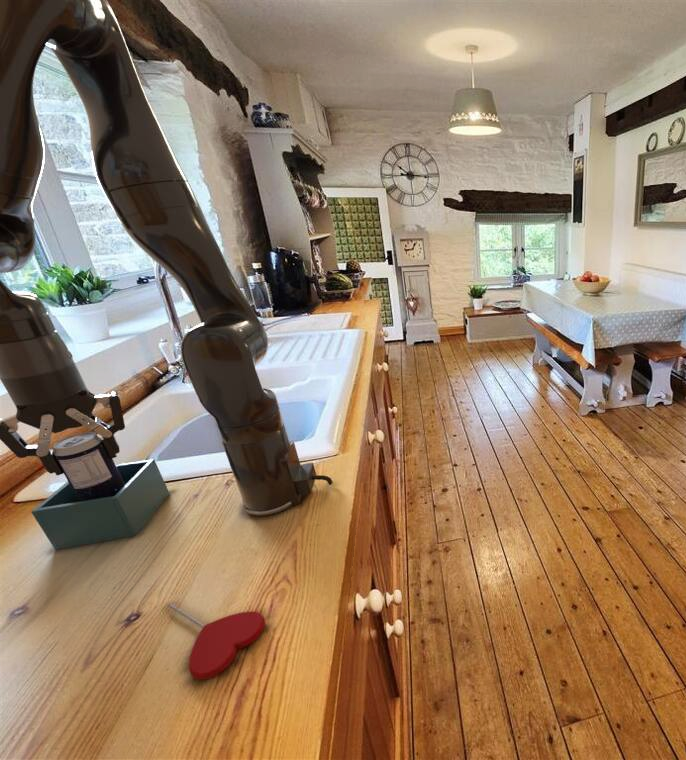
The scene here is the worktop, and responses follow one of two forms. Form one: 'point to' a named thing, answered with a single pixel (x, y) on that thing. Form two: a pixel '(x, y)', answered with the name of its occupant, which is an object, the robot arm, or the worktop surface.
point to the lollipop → (221, 641)
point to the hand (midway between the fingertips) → (88, 463)
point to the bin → (103, 509)
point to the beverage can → (88, 466)
